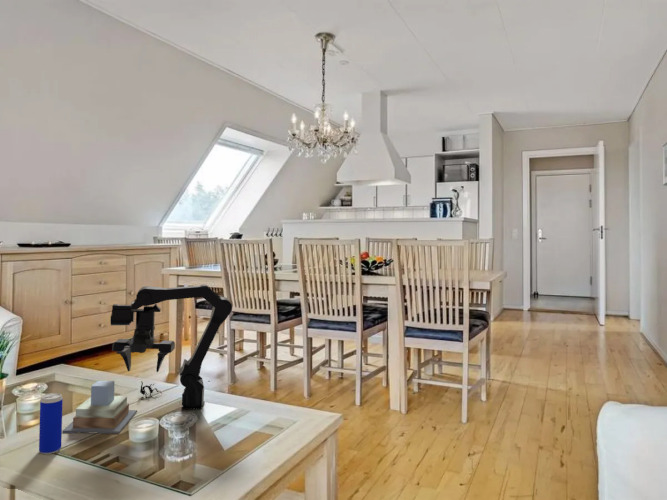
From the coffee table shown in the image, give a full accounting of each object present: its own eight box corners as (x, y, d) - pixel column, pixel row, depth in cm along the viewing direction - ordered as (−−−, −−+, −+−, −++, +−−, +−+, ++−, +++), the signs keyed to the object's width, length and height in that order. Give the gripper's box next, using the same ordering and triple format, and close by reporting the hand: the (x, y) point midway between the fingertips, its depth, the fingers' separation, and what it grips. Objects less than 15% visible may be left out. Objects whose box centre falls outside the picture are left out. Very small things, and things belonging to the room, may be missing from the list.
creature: (160, 394, 174) (138, 391, 172) (164, 380, 175) (142, 377, 172) (160, 402, 167) (137, 399, 164) (164, 387, 167) (141, 384, 164)
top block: (114, 399, 148) (114, 381, 148) (107, 405, 143) (108, 386, 143) (97, 399, 148) (98, 380, 148) (90, 405, 143) (91, 385, 143)
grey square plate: (137, 412, 155) (137, 410, 155) (118, 433, 139) (119, 431, 139) (86, 411, 153) (86, 409, 153) (62, 432, 137) (62, 430, 137)
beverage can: (58, 444, 130) (59, 391, 129) (63, 451, 127) (65, 396, 126) (36, 449, 127) (38, 395, 126) (41, 457, 123) (43, 400, 122)
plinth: (128, 412, 152) (129, 395, 152) (114, 428, 140) (115, 410, 140) (90, 411, 151) (90, 395, 151) (72, 427, 139) (73, 409, 139)
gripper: (106, 329, 147) (104, 378, 147) (167, 331, 148) (165, 380, 149) (119, 322, 158) (117, 367, 158) (176, 324, 159) (174, 369, 160)
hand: (143, 371), depth 156 cm, fingers open, 9 cm apart
